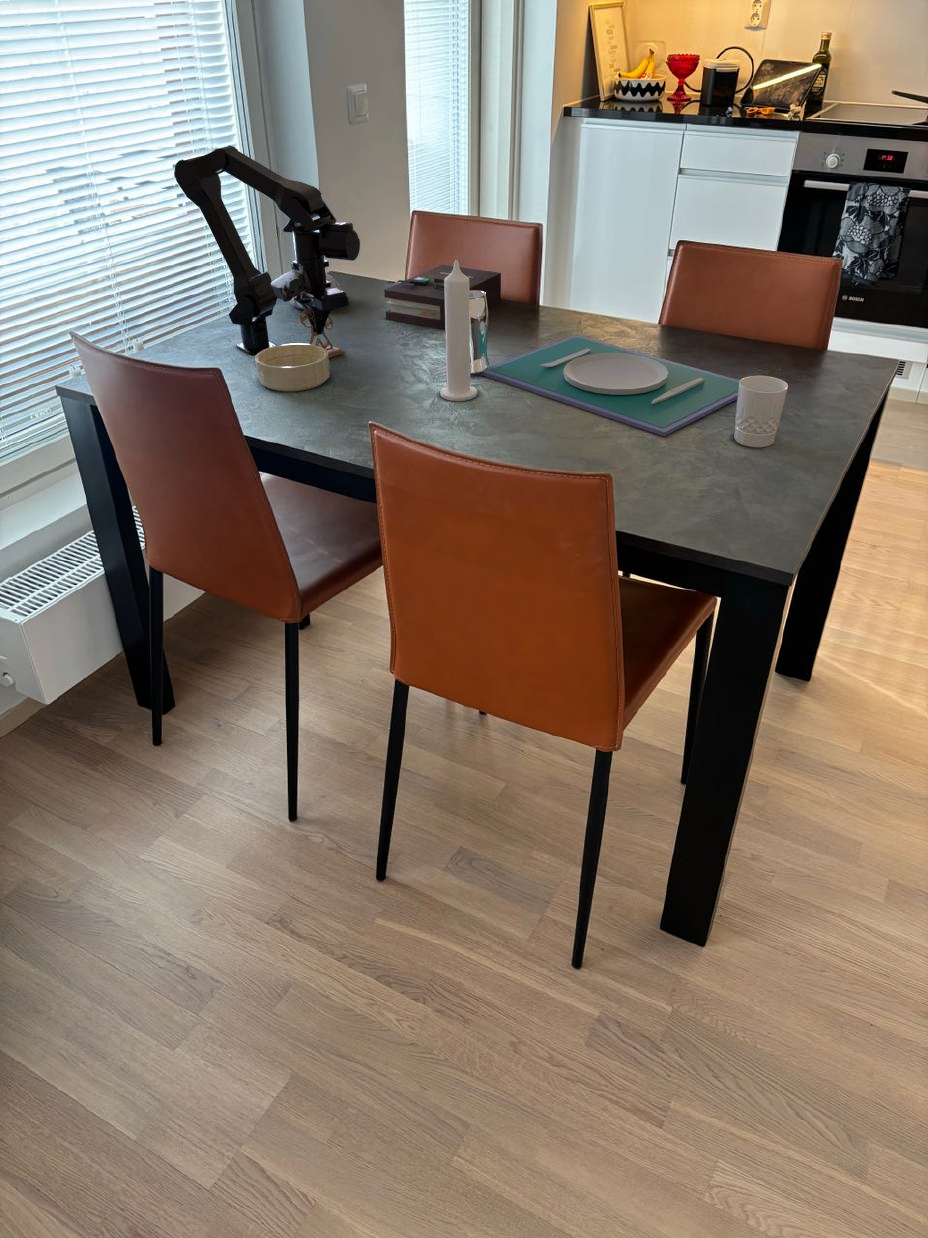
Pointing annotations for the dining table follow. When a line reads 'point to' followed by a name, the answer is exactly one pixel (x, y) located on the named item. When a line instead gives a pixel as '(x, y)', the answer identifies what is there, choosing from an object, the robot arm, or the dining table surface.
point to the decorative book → (435, 295)
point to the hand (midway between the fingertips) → (317, 333)
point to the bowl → (292, 367)
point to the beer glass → (478, 332)
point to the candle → (457, 337)
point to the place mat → (619, 383)
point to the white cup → (759, 410)
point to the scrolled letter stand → (330, 349)
